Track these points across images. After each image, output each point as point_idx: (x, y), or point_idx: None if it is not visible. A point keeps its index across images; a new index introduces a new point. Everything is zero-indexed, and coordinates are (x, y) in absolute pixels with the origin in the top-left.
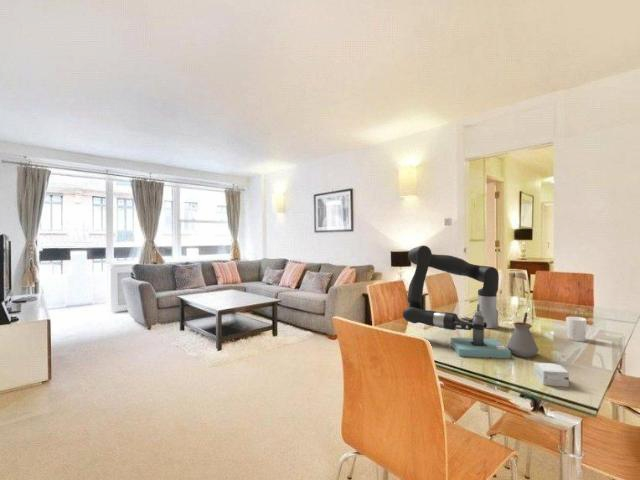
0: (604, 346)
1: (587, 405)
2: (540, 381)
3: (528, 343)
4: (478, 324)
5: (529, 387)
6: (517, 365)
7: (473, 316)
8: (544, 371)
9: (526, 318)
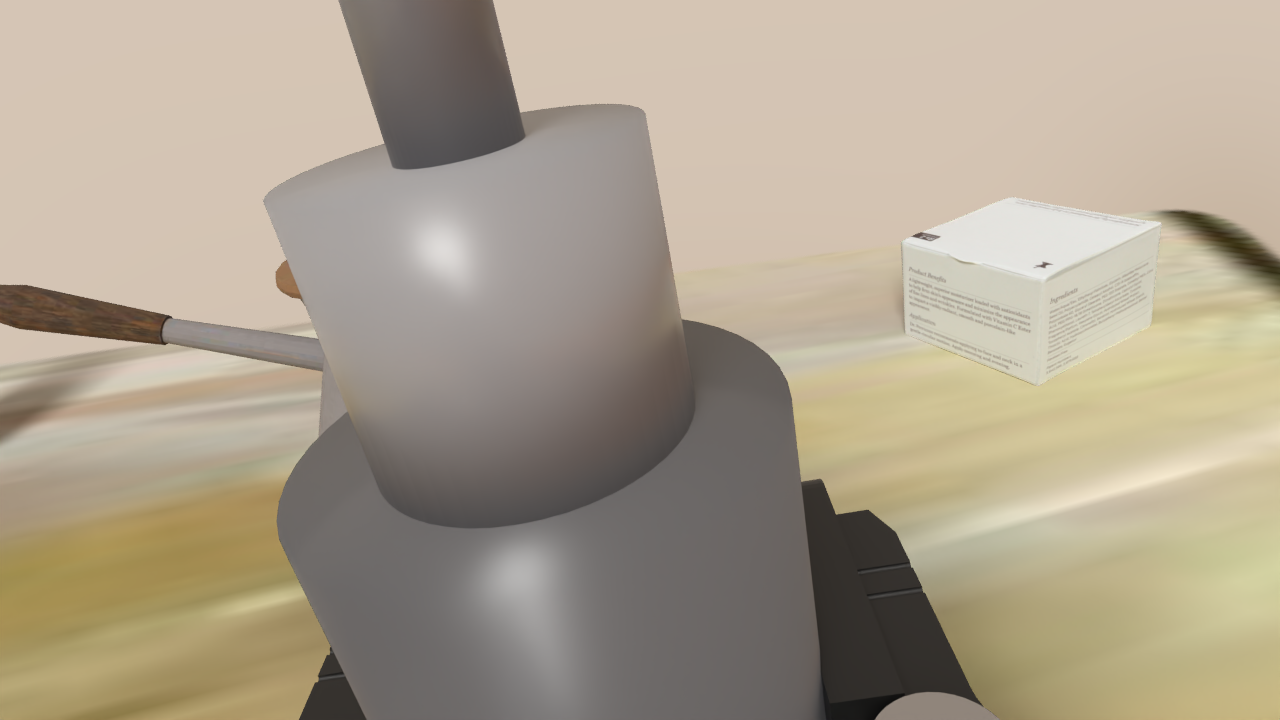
0: (95, 378)
1: (1172, 218)
2: (1122, 337)
3: None
4: (829, 573)
5: None
6: (917, 507)
7: (698, 515)
8: (1157, 225)
9: (43, 291)
